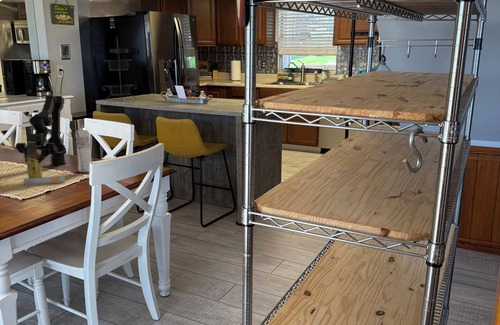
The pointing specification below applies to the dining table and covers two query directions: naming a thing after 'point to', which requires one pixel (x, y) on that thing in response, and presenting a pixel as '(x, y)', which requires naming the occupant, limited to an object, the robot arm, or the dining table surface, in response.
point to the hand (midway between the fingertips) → (32, 162)
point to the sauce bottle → (33, 161)
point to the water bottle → (83, 149)
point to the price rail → (44, 180)
